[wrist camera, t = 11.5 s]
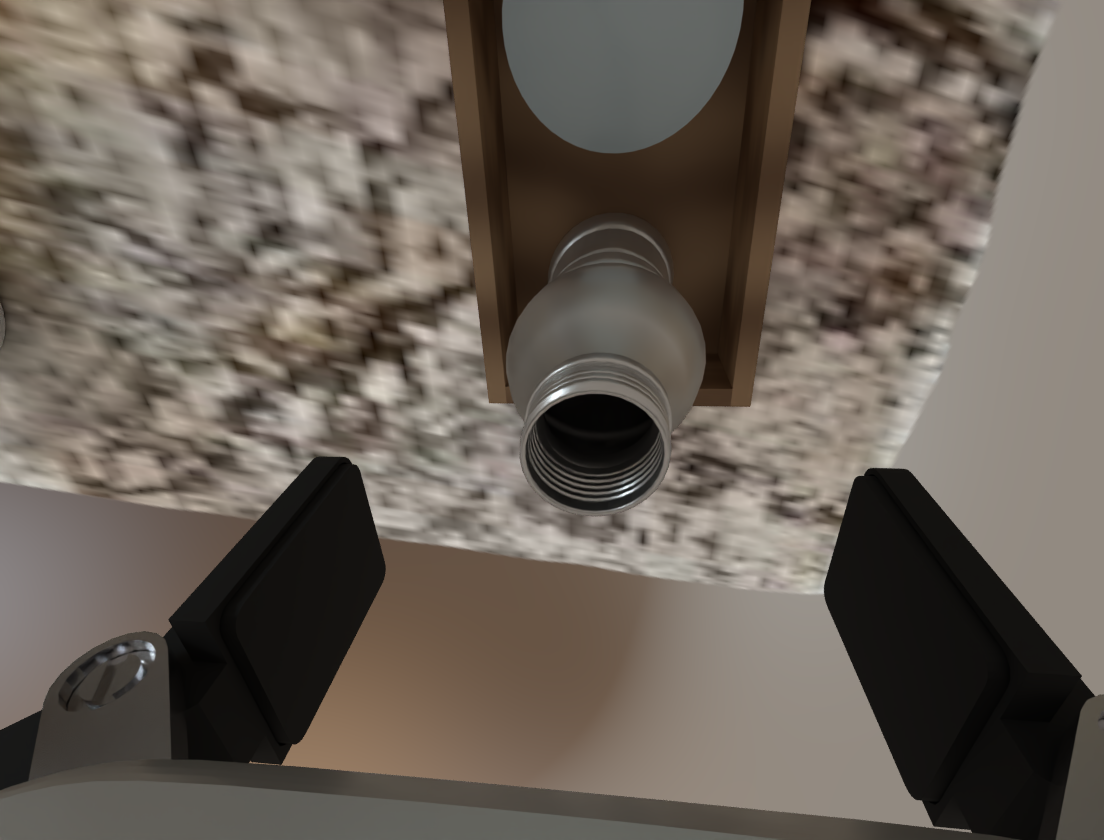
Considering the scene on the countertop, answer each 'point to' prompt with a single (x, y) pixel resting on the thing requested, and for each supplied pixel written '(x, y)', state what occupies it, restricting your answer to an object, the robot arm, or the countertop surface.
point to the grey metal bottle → (604, 368)
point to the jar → (618, 65)
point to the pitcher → (2, 326)
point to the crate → (632, 188)
